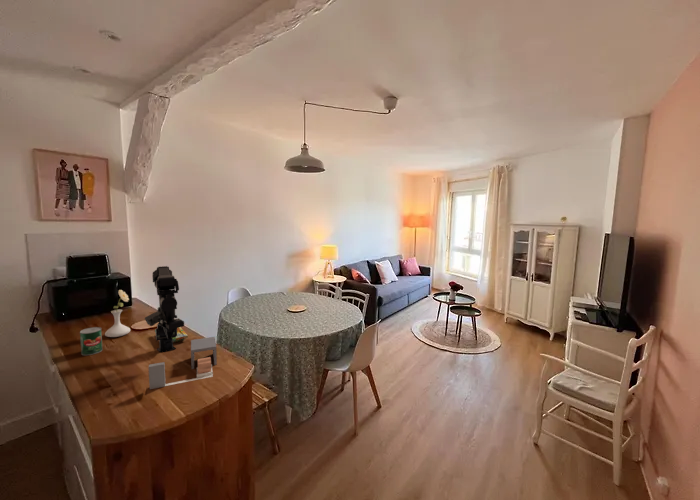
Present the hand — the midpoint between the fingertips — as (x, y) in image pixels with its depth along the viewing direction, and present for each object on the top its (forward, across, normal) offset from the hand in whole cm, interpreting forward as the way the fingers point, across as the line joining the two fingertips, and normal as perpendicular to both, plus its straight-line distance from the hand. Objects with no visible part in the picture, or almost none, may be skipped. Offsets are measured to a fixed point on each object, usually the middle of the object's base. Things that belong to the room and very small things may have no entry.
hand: (168, 338), depth 135 cm
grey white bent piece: (+12, +18, -2) cm, 22 cm away
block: (+11, +21, +6) cm, 24 cm away
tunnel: (+12, +11, +10) cm, 19 cm away
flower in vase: (+12, -57, -4) cm, 58 cm away
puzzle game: (+12, -30, +12) cm, 34 cm away
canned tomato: (+12, -41, -19) cm, 47 cm away
